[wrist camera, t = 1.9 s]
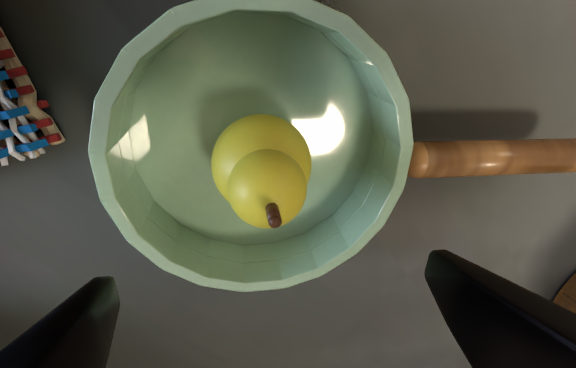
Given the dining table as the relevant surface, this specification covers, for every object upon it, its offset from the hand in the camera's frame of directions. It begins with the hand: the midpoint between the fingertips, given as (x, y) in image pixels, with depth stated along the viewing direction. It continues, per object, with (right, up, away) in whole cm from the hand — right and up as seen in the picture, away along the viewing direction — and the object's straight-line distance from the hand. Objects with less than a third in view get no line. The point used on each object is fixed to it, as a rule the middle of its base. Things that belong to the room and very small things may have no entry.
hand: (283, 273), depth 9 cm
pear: (-2, +5, +9) cm, 11 cm away
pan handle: (+12, +4, +10) cm, 16 cm away
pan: (-2, +5, +10) cm, 11 cm away
